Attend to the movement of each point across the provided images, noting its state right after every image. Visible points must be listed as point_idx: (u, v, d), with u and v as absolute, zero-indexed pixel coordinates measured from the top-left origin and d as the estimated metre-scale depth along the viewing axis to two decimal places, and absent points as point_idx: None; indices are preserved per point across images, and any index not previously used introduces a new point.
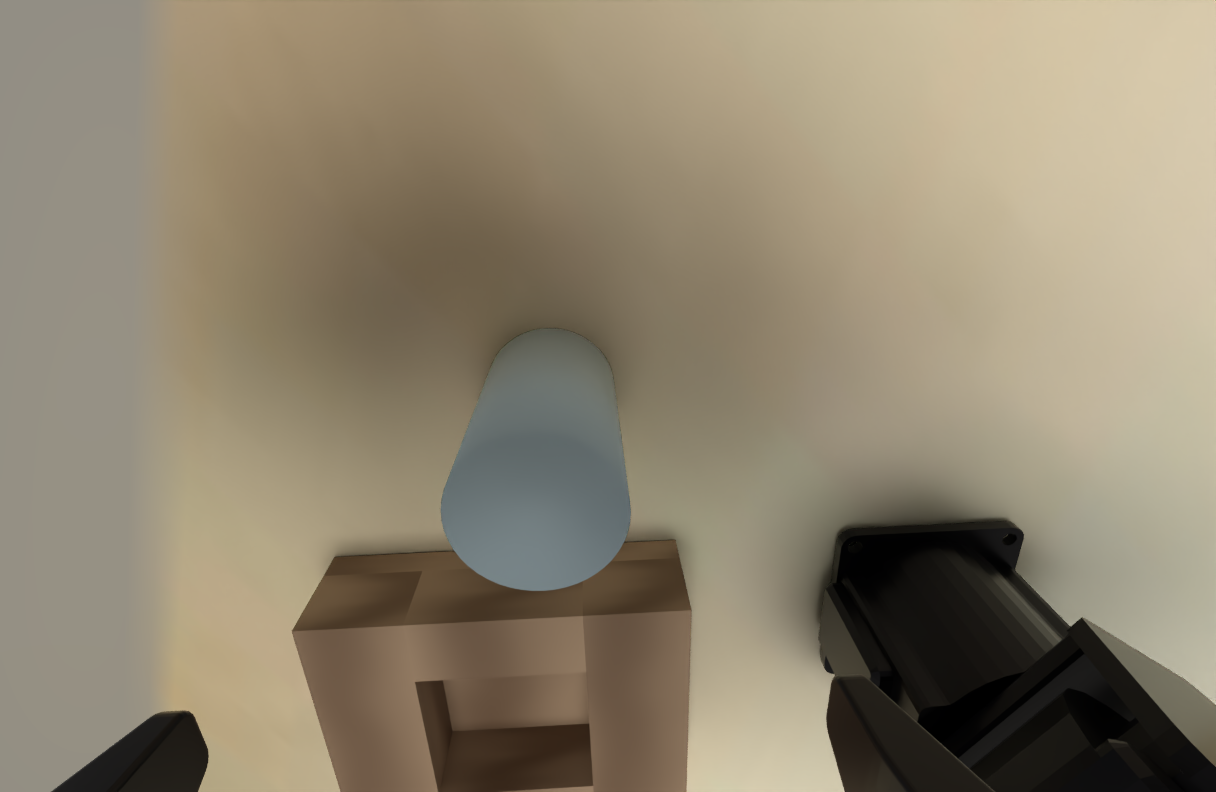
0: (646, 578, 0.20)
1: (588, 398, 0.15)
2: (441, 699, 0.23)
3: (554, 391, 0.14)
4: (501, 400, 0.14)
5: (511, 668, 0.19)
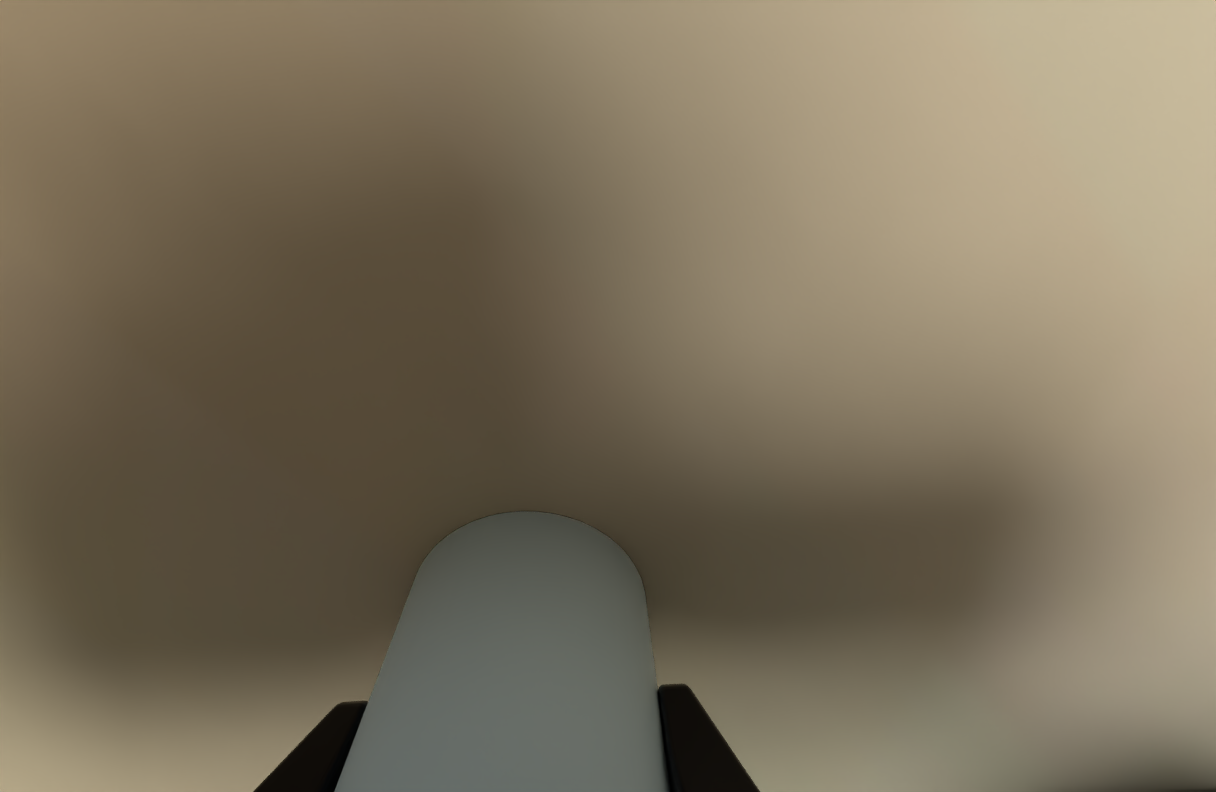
0: None
1: None
2: None
3: None
4: None
5: None
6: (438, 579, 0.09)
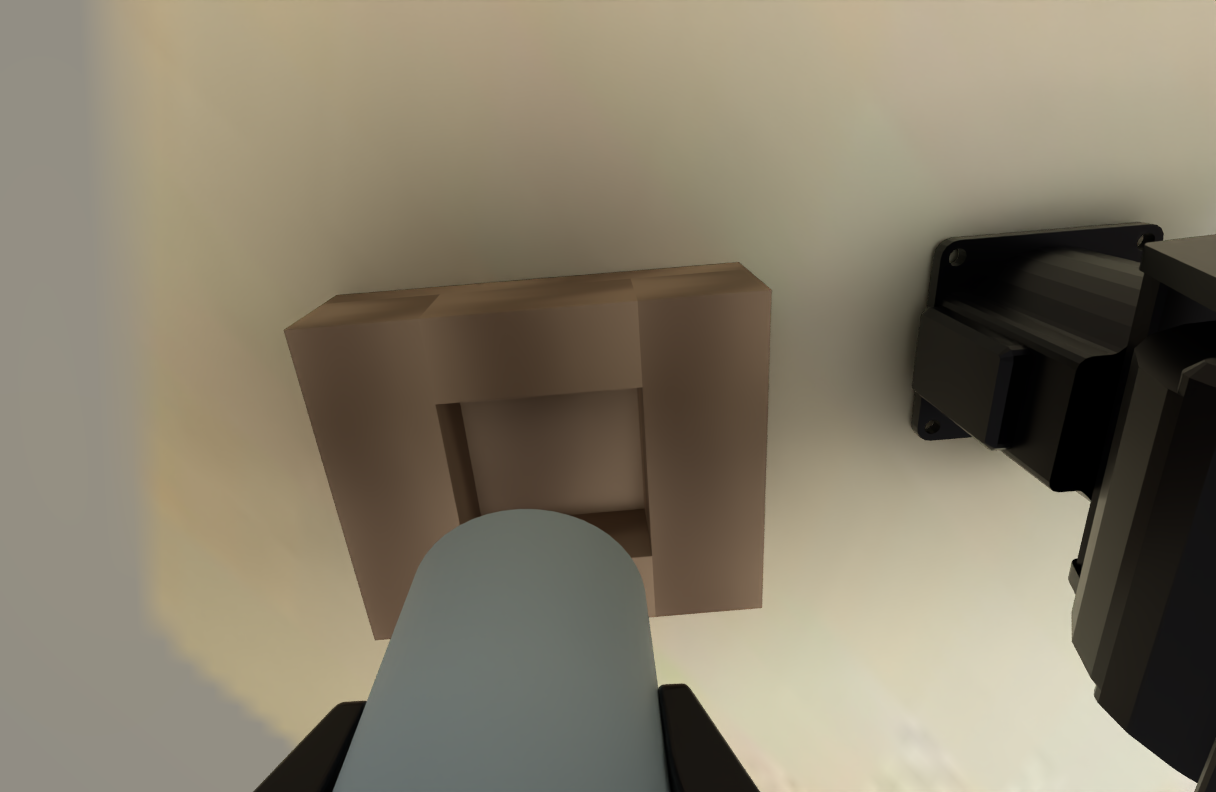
0: (710, 280, 0.17)
1: None
2: (468, 469, 0.19)
3: None
4: None
5: (551, 382, 0.16)
6: (438, 576, 0.09)
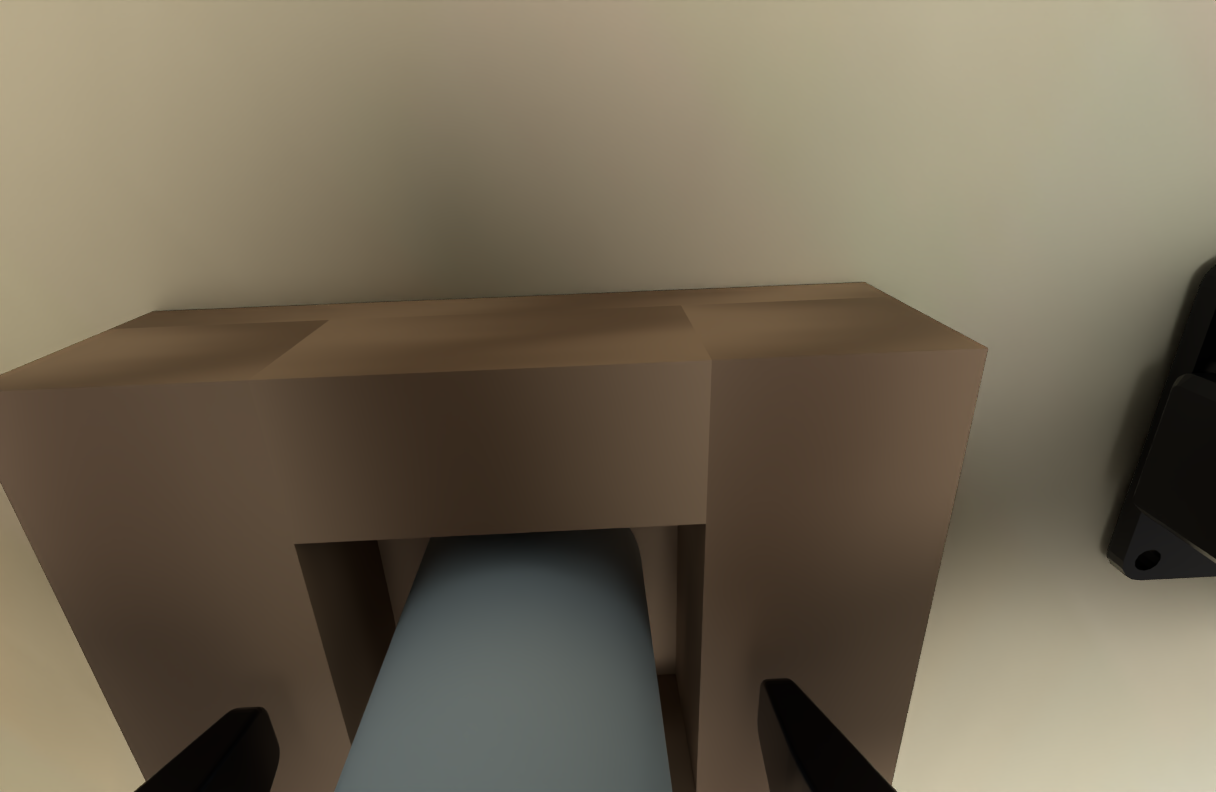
0: (837, 316, 0.09)
1: (602, 726, 0.07)
2: (381, 618, 0.11)
3: (524, 729, 0.06)
4: (403, 755, 0.06)
5: (526, 509, 0.08)
6: (452, 537, 0.10)
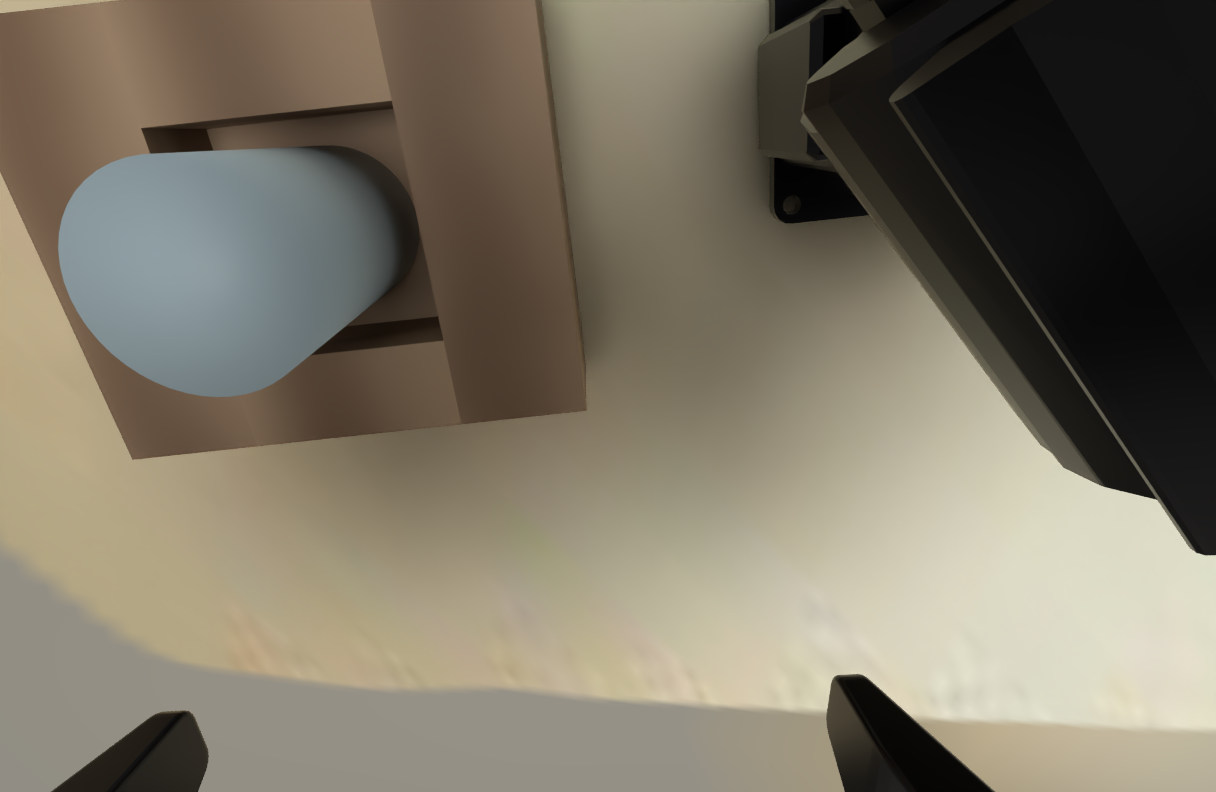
0: None
1: (296, 165, 0.12)
2: None
3: (243, 150, 0.11)
4: None
5: (278, 94, 0.13)
6: None
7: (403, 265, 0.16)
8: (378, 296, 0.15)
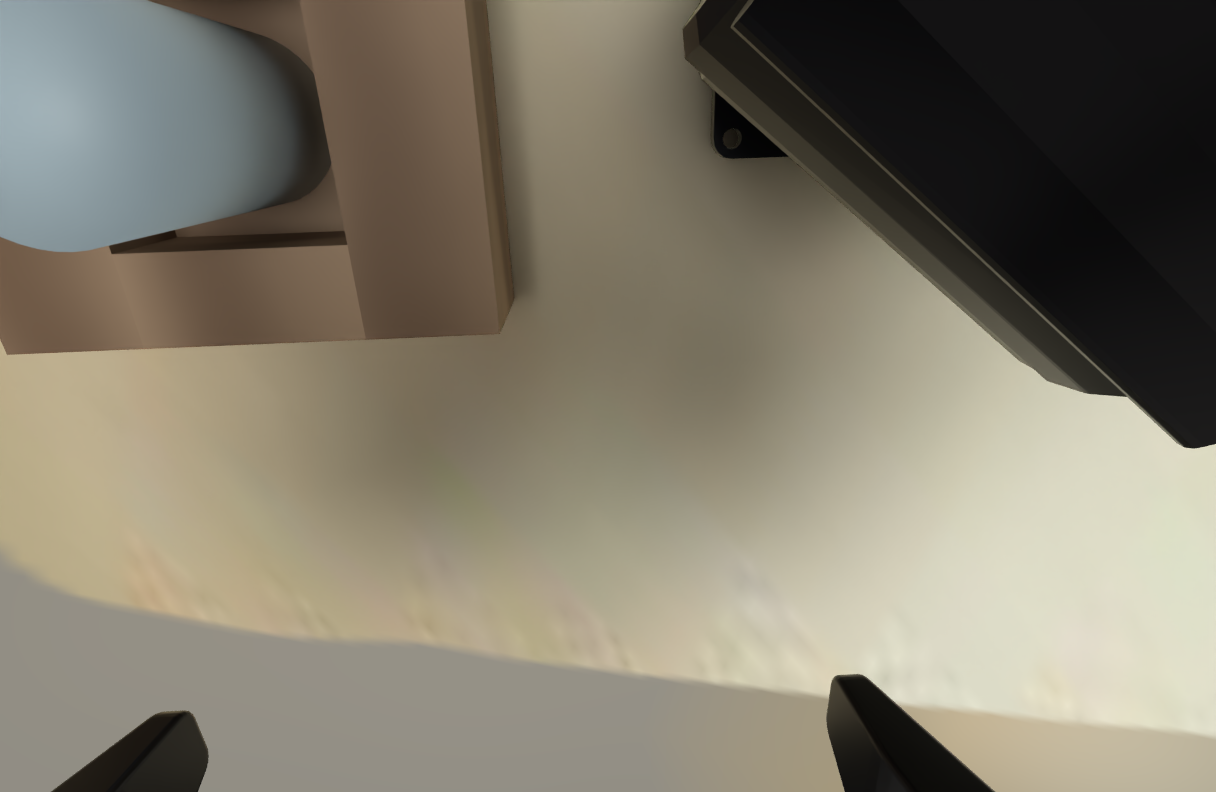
0: None
1: (169, 14, 0.11)
2: None
3: None
4: None
5: None
6: None
7: (312, 164, 0.15)
8: (277, 189, 0.14)
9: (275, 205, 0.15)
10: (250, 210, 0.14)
